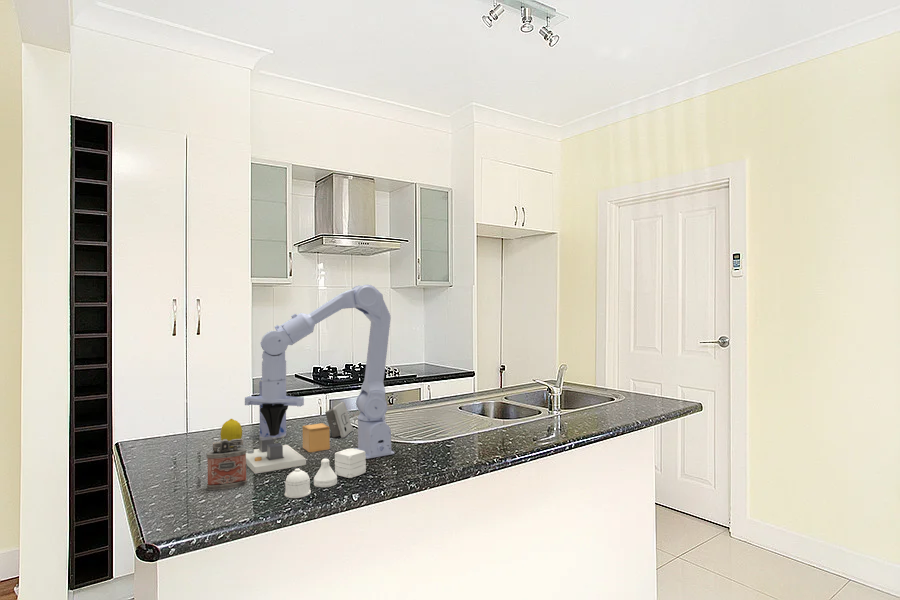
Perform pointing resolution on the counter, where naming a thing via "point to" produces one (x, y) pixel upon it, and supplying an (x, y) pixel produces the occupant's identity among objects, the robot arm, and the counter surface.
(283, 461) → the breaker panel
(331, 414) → the electrical switch
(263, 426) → the aerosol can
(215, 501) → the counter surface
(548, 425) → the counter surface
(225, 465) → the lighter
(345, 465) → the container set
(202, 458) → the counter surface
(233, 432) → the lemon
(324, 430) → the small cardboard box
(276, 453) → the button
